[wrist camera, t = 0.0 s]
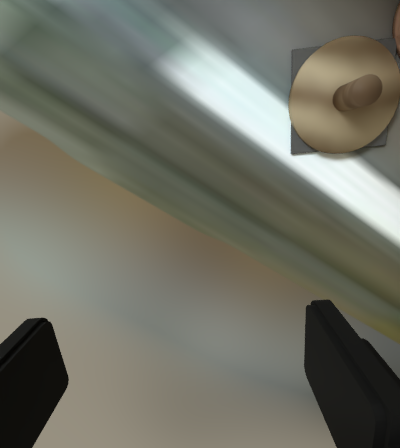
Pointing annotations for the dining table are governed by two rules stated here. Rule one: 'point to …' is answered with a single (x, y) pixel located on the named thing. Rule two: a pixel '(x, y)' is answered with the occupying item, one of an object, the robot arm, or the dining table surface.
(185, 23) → the dining table surface
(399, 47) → the bowl
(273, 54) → the dining table surface
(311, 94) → the lid
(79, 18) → the dining table surface
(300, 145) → the mat
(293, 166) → the dining table surface
